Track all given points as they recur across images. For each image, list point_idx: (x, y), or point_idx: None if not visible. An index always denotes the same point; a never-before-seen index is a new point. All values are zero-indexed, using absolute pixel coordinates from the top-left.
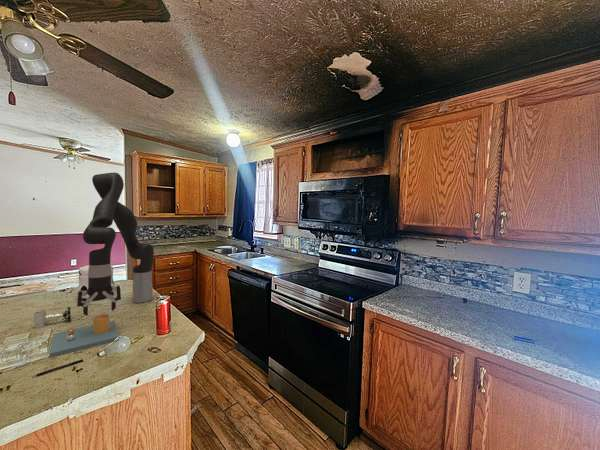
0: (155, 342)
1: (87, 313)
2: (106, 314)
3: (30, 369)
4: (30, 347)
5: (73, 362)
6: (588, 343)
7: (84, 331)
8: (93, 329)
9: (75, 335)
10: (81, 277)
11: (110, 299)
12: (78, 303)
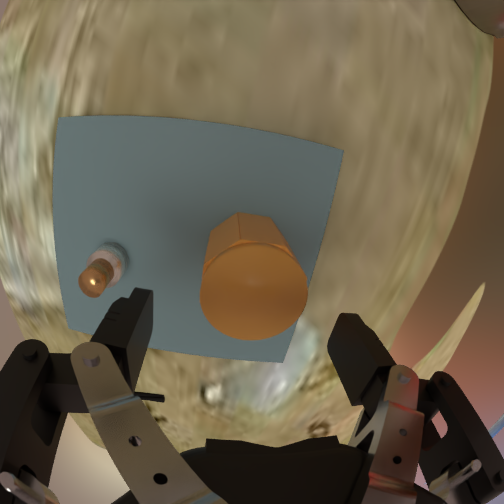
0: (342, 409)
1: (146, 342)
2: (299, 271)
3: (54, 346)
4: (15, 179)
5: (142, 399)
6: None
7: (170, 193)
8: (215, 199)
9: (123, 270)
10: None
11: (353, 442)
12: (42, 416)
